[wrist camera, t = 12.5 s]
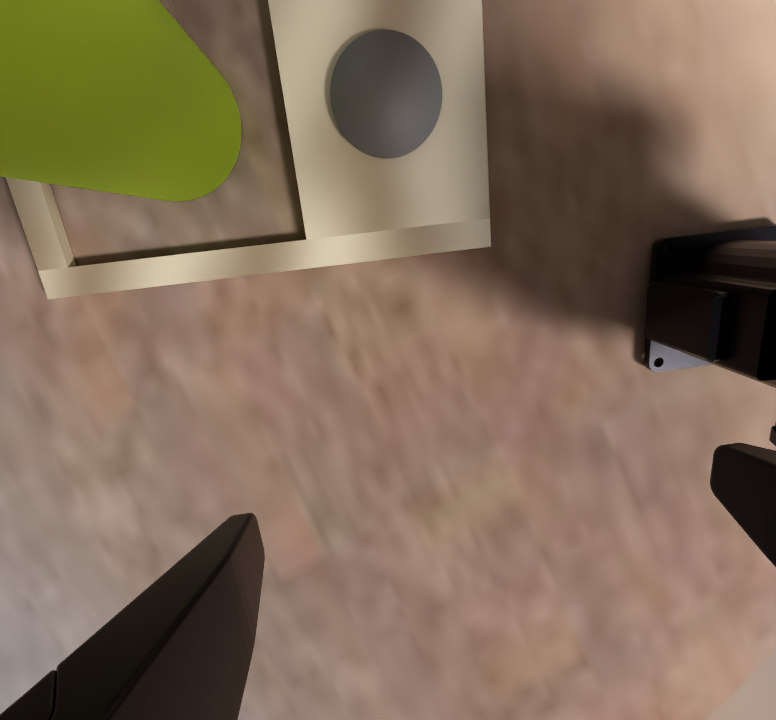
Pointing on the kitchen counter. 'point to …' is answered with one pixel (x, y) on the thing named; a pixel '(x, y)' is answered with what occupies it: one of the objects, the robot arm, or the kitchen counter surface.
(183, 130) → the soap dispenser
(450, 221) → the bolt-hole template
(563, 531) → the kitchen counter surface
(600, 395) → the kitchen counter surface
